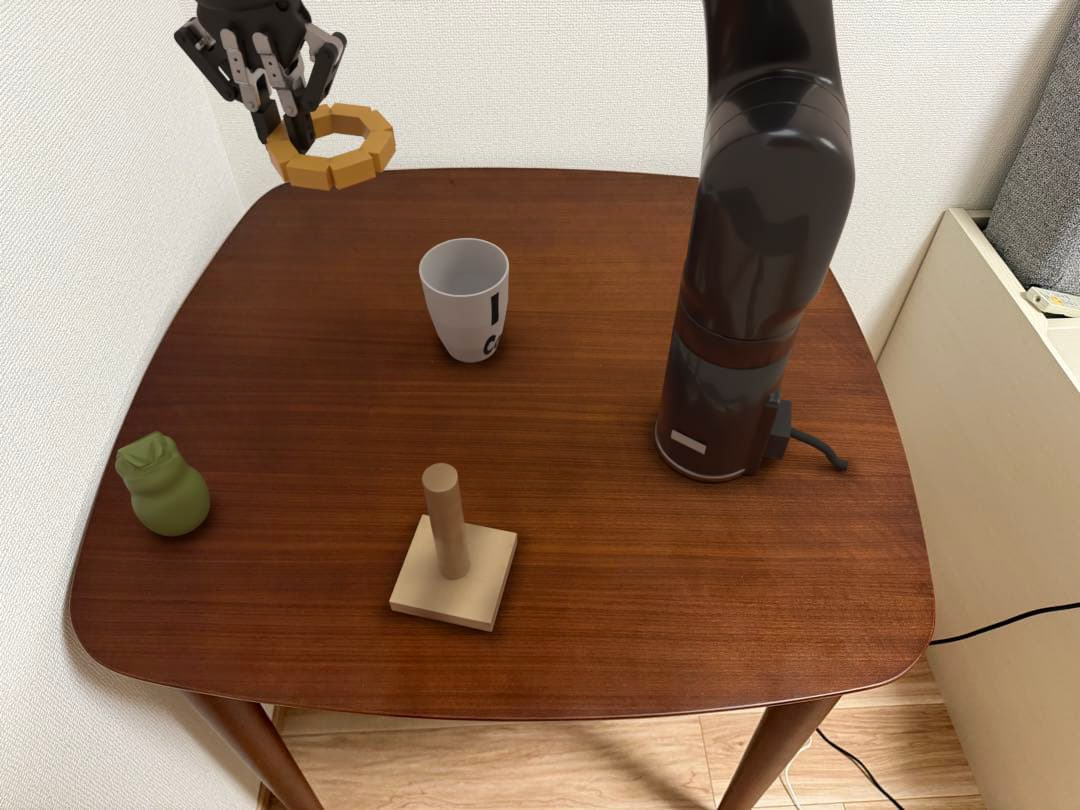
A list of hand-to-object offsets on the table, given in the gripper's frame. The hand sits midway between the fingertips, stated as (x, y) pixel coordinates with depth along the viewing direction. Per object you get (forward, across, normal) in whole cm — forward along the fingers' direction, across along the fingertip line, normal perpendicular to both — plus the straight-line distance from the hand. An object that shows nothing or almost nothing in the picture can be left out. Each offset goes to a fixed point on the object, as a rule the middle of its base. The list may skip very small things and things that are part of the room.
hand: (290, 148), depth 67 cm
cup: (+21, +14, +1) cm, 25 cm away
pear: (+21, -4, -24) cm, 32 cm away
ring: (0, +4, 0) cm, 4 cm away
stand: (+21, +20, -24) cm, 38 cm away
